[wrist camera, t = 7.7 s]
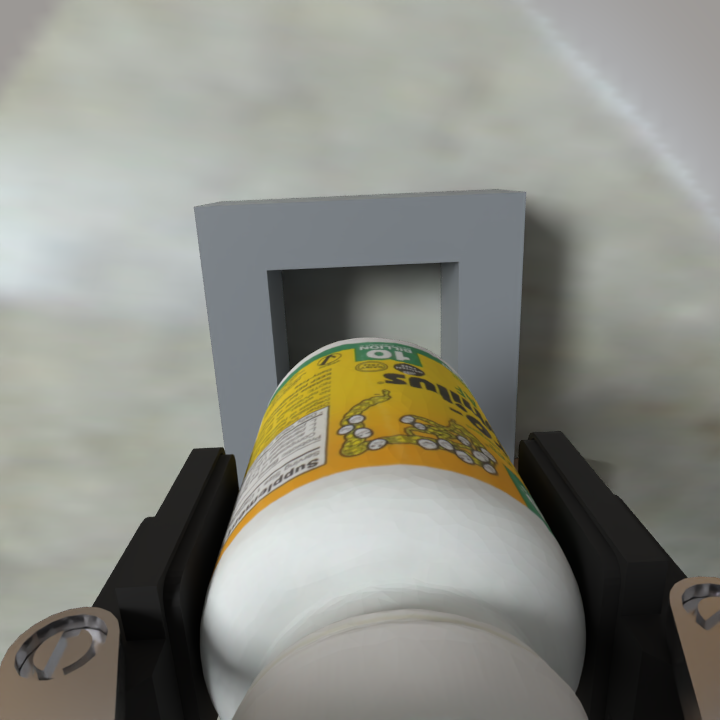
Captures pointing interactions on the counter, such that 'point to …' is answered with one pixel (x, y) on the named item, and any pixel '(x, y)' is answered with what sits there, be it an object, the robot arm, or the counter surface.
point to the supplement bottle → (387, 558)
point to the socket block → (362, 248)
